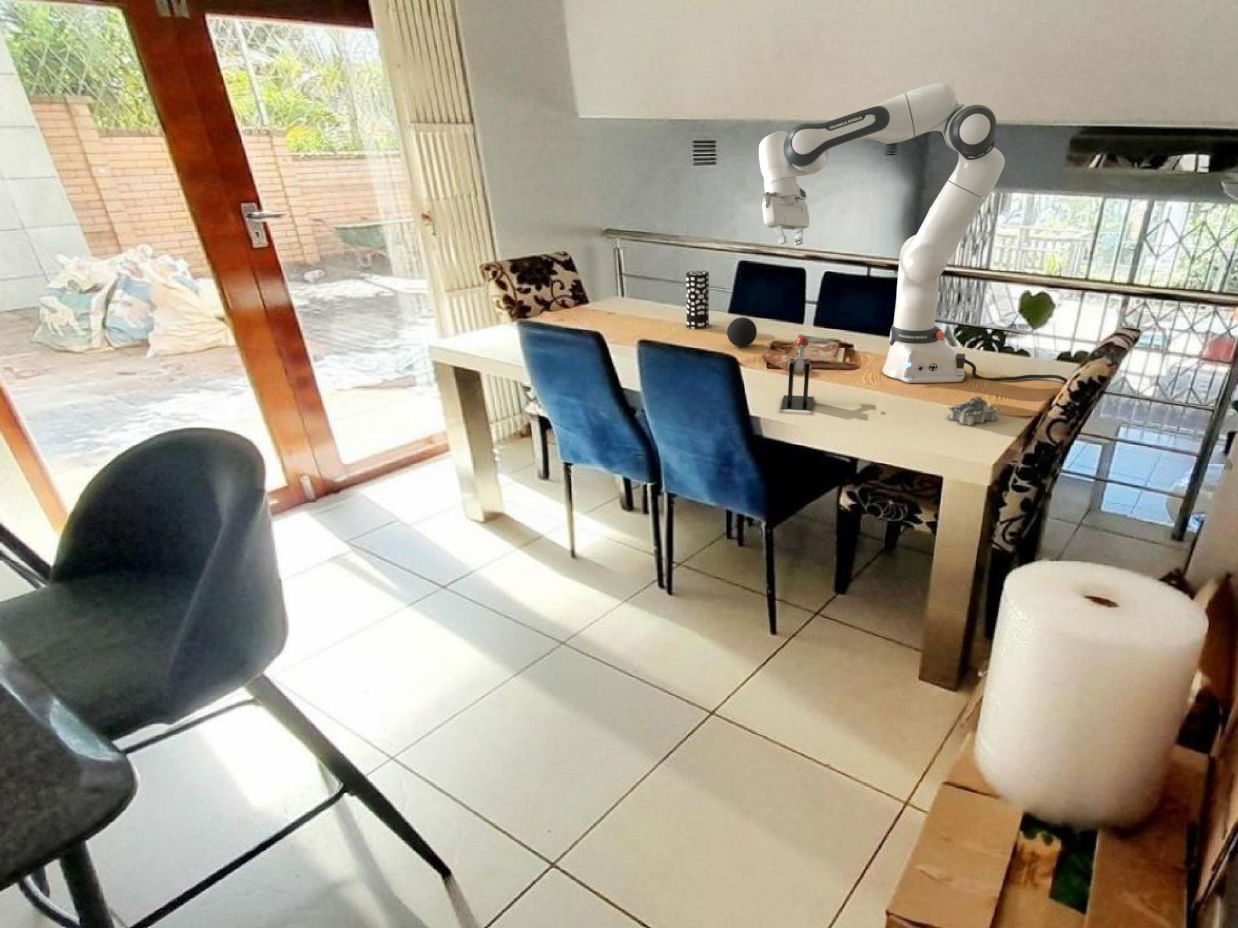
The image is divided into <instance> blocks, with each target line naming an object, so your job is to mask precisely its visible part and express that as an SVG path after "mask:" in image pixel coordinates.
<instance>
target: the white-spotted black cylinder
mask: <svg viewBox="0 0 1238 928" xmlns="http://www.w3.org/2000/svg"><path fill="white" fill-rule="evenodd" d="M685 275H686V276H685V277H686V278H685V279H686V283H685V284H686V285H685V286H686V328H688V329H693V330H701V329H706V328H709V326H710V325H709V321H710V318H709V317H710V315H709V313H710V312H709V311H710V310H709V309H710V307H709V305H710V302H709V301H710V297H709V296H710V293H709V292H710V289H709V287H710V281H709V280H710V273H709V271H707V270H693V271H688V272H686V273H685Z"/></svg>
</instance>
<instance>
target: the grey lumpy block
mask: <svg viewBox="0 0 1238 928" xmlns="http://www.w3.org/2000/svg"><path fill="white" fill-rule="evenodd" d="M947 409H949V411H950V413H949V420H954V421H959V423H960V424H962V425H967V426H973V425H974V423H980V424H982V423H984V422H985V421H995V419H996V414H997V412H996V410H1000V408H999V407H998V406H994V405H993V404H990V406H989V405H988V402H987V401H986V399H983V398H982V396H981V395H980V396H975V397H972V398H970V399H969V401H964V402H963V403H960V404H956V405H953V406H950V407H947Z"/></svg>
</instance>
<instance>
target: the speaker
mask: <svg viewBox="0 0 1238 928" xmlns="http://www.w3.org/2000/svg"><path fill="white" fill-rule="evenodd" d="M757 329H758V328H757V325H756V324H755V322H754V321H753V320H751V319H750V318H748V317H746V316H745V317H737V318H734V319H733V320H732V321H731V322H730V323H729V325H728V326H727V329H726V335H727V339H728V340H729V342H730V343H731V344H732V345H734V346H735V347H738V348H746V347H748V346H749V345H751V344H752V343H754V341H755V339H756V338H757V336H758V335H757V333H758V331H757Z"/></svg>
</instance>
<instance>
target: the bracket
mask: <svg viewBox="0 0 1238 928" xmlns="http://www.w3.org/2000/svg"><path fill="white" fill-rule="evenodd" d="M805 360H806V364H805V370H804V378H803V379H804V381H803V384H804V385H803V395H793V394H794V377H795V374H794V361H795V358H791V360H790V364H788V370H789V372H788V386H787V395H786V394H784V395H783V397H782V401H781V406H780V410H791V411H793V410H795V411H810V412H811V411H813V405H814V399H815V398H814V396H811V395H809V383H810V382H809V381H810V372H811V371H812V367H813V365H812V364H811V358H806V359H805Z"/></svg>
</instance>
